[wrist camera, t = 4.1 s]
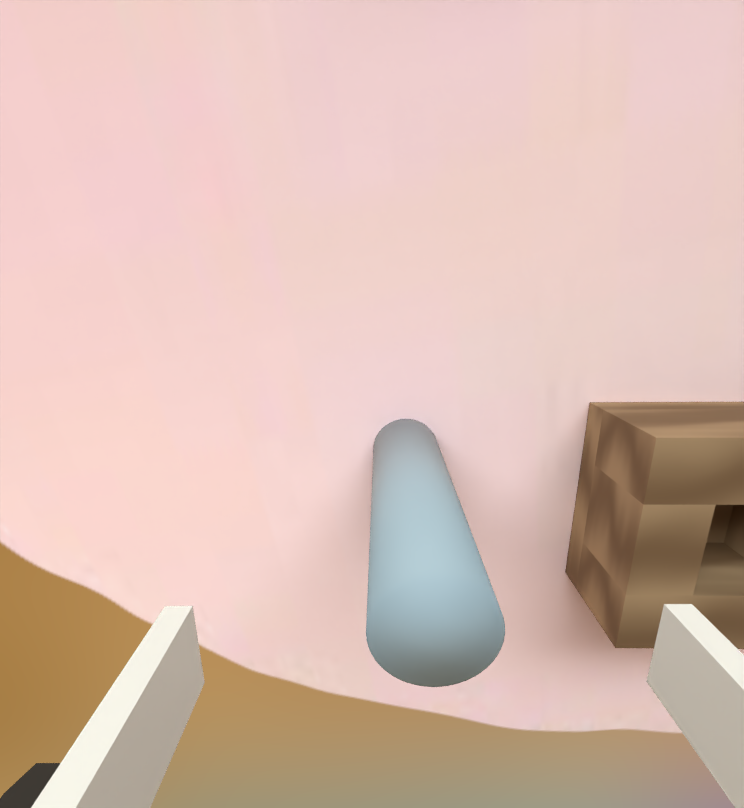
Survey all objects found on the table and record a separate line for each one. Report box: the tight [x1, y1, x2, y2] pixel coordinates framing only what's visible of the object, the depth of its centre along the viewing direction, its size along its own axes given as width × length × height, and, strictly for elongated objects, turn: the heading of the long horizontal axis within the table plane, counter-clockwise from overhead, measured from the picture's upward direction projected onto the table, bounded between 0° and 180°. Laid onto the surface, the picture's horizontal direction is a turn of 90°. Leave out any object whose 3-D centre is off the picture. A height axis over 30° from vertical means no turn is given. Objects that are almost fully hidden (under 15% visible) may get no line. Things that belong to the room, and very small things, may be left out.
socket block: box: [566, 402, 744, 649], centre depth 23 cm, size 12×12×6 cm
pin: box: [366, 419, 505, 687], centre depth 18 cm, size 4×4×14 cm
